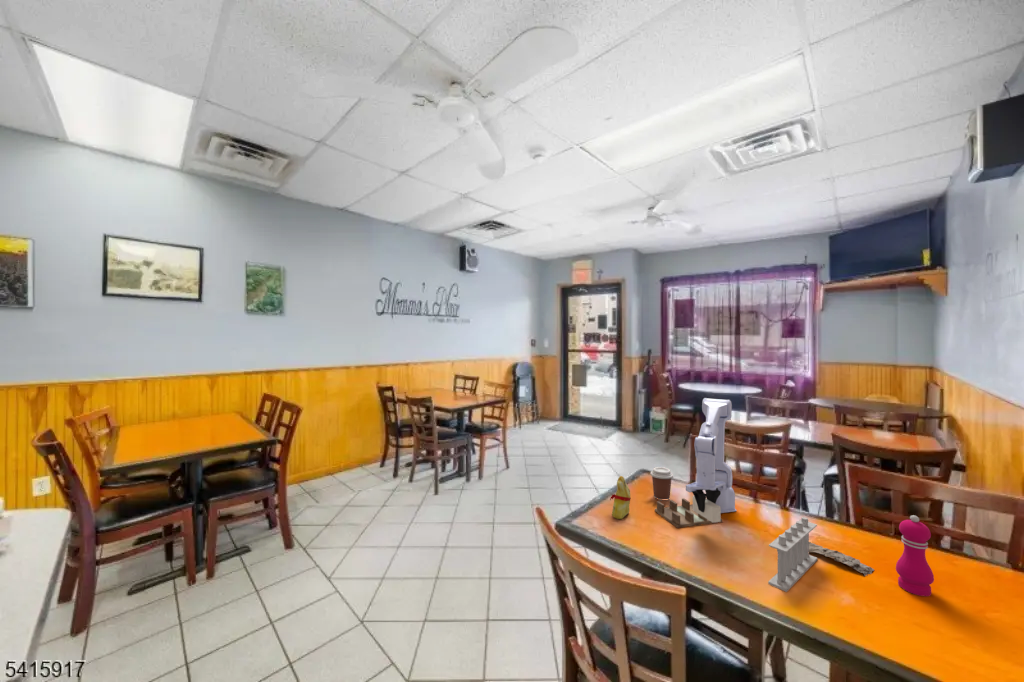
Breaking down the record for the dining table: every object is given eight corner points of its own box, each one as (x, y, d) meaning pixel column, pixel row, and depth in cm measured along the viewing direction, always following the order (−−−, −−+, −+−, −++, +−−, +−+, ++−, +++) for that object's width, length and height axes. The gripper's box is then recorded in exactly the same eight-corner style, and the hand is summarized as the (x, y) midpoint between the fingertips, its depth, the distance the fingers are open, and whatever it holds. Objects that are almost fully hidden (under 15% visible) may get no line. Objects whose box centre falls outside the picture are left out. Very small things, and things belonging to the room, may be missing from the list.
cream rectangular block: (699, 509, 142) (699, 495, 142) (720, 521, 132) (720, 506, 132) (692, 509, 141) (692, 496, 141) (712, 522, 131) (712, 507, 131)
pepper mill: (938, 601, 102) (938, 524, 101) (900, 591, 105) (900, 517, 105) (928, 586, 108) (928, 513, 108) (892, 577, 112) (892, 507, 111)
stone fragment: (870, 582, 111) (876, 568, 118) (870, 572, 111) (877, 559, 118) (768, 544, 131) (778, 535, 137) (768, 536, 131) (778, 526, 137)
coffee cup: (652, 501, 164) (652, 472, 164) (648, 492, 173) (648, 465, 173) (675, 502, 163) (675, 473, 163) (670, 494, 172) (670, 466, 172)
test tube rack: (786, 592, 106) (786, 543, 106) (768, 584, 109) (768, 536, 109) (817, 560, 121) (817, 517, 121) (800, 554, 124) (800, 512, 124)
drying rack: (696, 506, 159) (696, 496, 159) (722, 522, 146) (722, 511, 146) (654, 511, 155) (654, 501, 155) (677, 527, 141) (677, 516, 141)
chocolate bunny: (634, 511, 155) (633, 473, 155) (622, 521, 146) (622, 481, 146) (617, 507, 159) (617, 469, 159) (605, 516, 151) (605, 477, 150)
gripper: (695, 477, 131) (695, 517, 131) (732, 473, 134) (732, 513, 134) (681, 470, 138) (681, 508, 138) (717, 466, 141) (717, 504, 141)
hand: (705, 510), depth 137 cm, fingers closed on cream rectangular block, 3 cm apart
